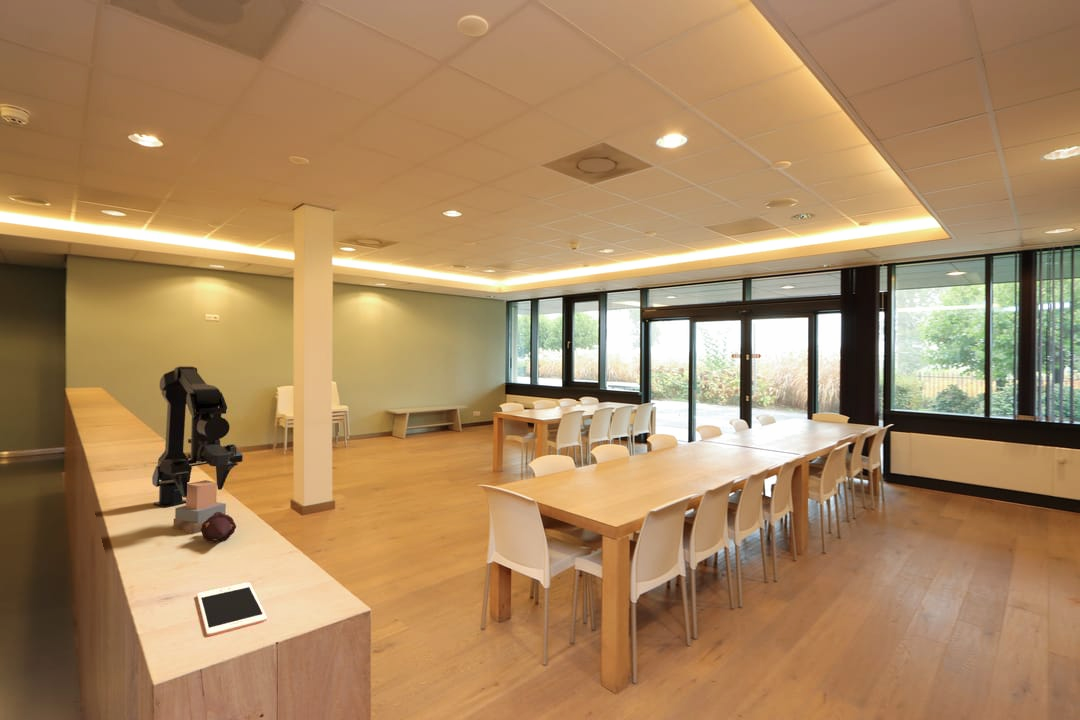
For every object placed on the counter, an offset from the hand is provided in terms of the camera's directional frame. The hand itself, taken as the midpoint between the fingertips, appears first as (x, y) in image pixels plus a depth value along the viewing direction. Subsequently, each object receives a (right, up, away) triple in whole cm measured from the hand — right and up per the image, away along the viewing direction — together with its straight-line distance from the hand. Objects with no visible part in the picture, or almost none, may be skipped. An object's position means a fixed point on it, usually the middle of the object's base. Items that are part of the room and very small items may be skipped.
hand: (202, 493), depth 138 cm
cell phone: (+34, -10, -44) cm, 57 cm away
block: (0, -3, 0) cm, 3 cm away
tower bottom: (0, -9, 0) cm, 9 cm away
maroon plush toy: (+11, -9, -11) cm, 18 cm away
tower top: (0, -6, 0) cm, 6 cm away
